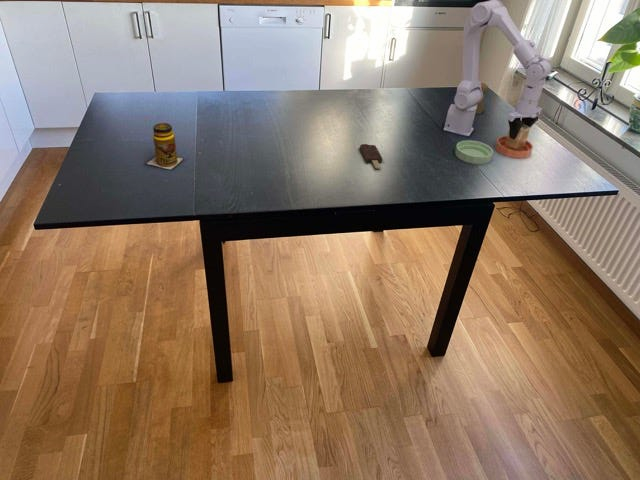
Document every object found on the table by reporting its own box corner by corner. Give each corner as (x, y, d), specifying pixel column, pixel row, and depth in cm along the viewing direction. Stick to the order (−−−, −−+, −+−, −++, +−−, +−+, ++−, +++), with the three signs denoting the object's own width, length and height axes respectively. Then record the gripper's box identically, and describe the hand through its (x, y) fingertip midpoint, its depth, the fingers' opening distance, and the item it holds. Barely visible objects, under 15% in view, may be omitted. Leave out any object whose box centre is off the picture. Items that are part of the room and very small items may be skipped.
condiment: (171, 170, 151) (166, 133, 144) (146, 164, 153) (140, 127, 146) (183, 159, 157) (179, 123, 149) (159, 153, 158) (154, 118, 151)
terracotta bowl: (491, 153, 173) (493, 145, 171) (498, 140, 181) (500, 132, 179) (526, 163, 169) (529, 155, 167) (532, 149, 177) (535, 141, 175)
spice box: (515, 149, 171) (521, 129, 167) (504, 143, 174) (510, 124, 170) (524, 146, 173) (530, 127, 169) (513, 140, 176) (519, 122, 172)
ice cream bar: (386, 170, 159) (373, 148, 171) (386, 165, 158) (374, 143, 170) (369, 170, 158) (358, 148, 170) (370, 166, 157) (359, 144, 169)
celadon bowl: (450, 158, 168) (452, 150, 166) (459, 145, 176) (461, 137, 175) (486, 168, 164) (488, 160, 162) (493, 154, 172) (496, 146, 171)
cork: (482, 114, 199) (490, 87, 192) (467, 112, 200) (474, 85, 193) (482, 108, 204) (489, 82, 197) (467, 106, 205) (473, 80, 198)
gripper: (524, 106, 157) (512, 145, 166) (554, 99, 164) (540, 137, 172) (507, 98, 162) (495, 137, 170) (536, 91, 169) (523, 129, 177)
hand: (517, 136), depth 172 cm, fingers closed on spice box, 4 cm apart
